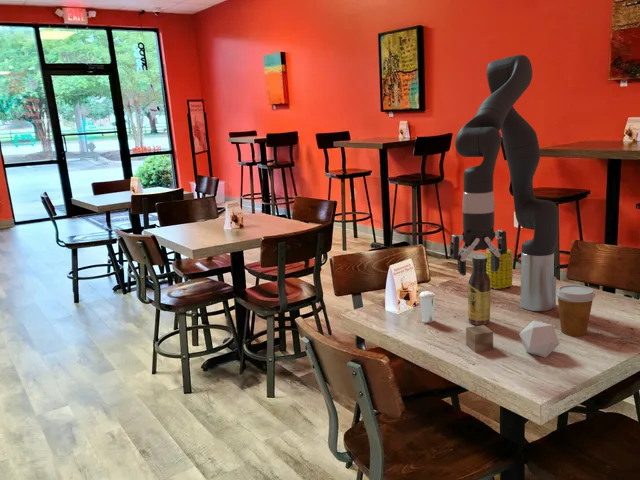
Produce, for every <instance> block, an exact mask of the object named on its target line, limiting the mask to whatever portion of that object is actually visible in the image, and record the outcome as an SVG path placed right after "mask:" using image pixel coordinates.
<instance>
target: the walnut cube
mask: <svg viewBox="0 0 640 480" xmlns="http://www.w3.org/2000/svg"><path fill="white" fill-rule="evenodd" d="M465 343H466V346H467V347H468V348H469V349H470V350H471V351H472V352H474V353H480V352H482V353H483V352H487V351H488V352H489V351H493V350H494V331H492V330H491V329H490V328H488V327H487V326H486V325H475V326H468V327H467V326H466V327H465Z"/></svg>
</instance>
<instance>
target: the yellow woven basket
mask: <svg viewBox="0 0 640 480" xmlns="http://www.w3.org/2000/svg"><path fill="white" fill-rule="evenodd" d="M485 256H486V257H487V263H486V269H487V271H486V273H487V274H488V276H489V278H490V288H491V289H494V290H498V289H499V290H501V289H506V288H508V287H509V288H511V287H512V286H513V278H514V277H513V276H514V275H513V274H514V273H513V268H514V267H513V264H514V263H513V251H512V250H511V249H508V248H507V253H506V254H502V255H501V256H500V258H499V269H498V271H497V272H494V271H492V270H491V256H492V254H491V253H490V252H489V250H488V249H486V250H485Z"/></svg>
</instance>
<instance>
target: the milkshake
mask: <svg viewBox="0 0 640 480" xmlns="http://www.w3.org/2000/svg"><path fill="white" fill-rule="evenodd" d="M438 289H439V288H438ZM438 289H436V291H435V293H434V292H433V291H429V290H425V291H421V292H420V293H419V295H418V297H419V304H420V305H419V306H420V312H421V313H420V314H421V321H422V323H425V324H431V323H434V320H435V319H434V315H435V314H434V313H435V303H436V302H435V299H436V293H437V292H438V291H439V290H438Z"/></svg>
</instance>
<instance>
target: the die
mask: <svg viewBox="0 0 640 480" xmlns="http://www.w3.org/2000/svg"><path fill="white" fill-rule="evenodd" d="M518 335H519V337H520V340H521V342H522V344H523V347H524V349H525V352H526V353H528V354H531V355H535V356H537V357H541V358H543V359H544V358H545V359H546V358H547V357H549V355H550V354H551V353H552V352H553V351H554V350H555V349H556V348H557V347H558V346H559V345H560V344H561V343H560V341H559V338H558V336H557V333H556V331H555V328H554V326H553V325H552V324H550V323H545V322H542V321H537V320H532V321H531V322H530V323H529V324H528V325H526V326H525V328H524V329H522V330H521V332H519V333H518Z"/></svg>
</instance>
